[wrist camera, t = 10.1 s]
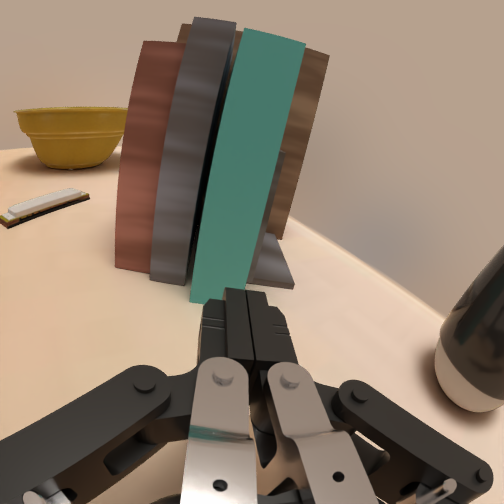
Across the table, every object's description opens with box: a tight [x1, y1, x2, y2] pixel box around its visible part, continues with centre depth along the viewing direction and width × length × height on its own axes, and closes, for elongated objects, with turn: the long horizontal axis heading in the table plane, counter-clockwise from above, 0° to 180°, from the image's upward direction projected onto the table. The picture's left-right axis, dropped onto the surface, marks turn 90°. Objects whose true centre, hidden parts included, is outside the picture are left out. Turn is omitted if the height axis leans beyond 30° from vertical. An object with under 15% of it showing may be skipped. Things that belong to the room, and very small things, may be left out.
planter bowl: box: [14, 107, 128, 169], centre depth 51 cm, size 32×32×13 cm
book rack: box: [115, 17, 329, 289], centre depth 25 cm, size 15×18×25 cm
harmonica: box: [0, 188, 90, 229], centre depth 30 cm, size 15×3×2 cm, turn 162°
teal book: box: [190, 28, 306, 304], centre depth 25 cm, size 16×4×20 cm, turn 7°
